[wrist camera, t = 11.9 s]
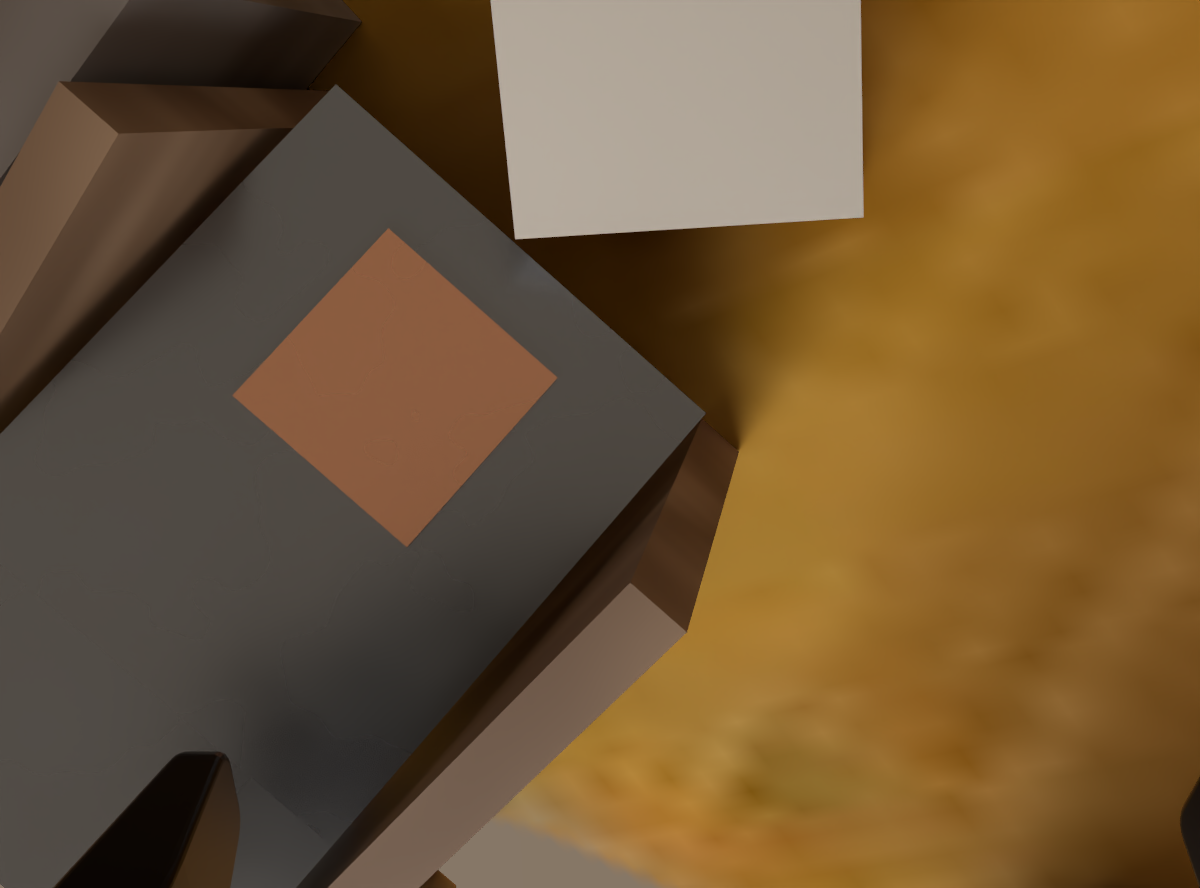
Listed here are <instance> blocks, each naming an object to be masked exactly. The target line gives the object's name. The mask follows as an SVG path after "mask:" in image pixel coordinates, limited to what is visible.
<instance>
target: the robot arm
mask: <svg viewBox="0 0 1200 888" xmlns="http://www.w3.org/2000/svg"><path fill="white" fill-rule="evenodd" d="M1180 826H1181V833H1182V837H1183V840H1184V843H1185V846H1186V849H1187V852H1188V855H1189V858H1190V861H1191V864H1192V867H1193V870H1194V873H1195V876H1196V879H1197V882H1198V885H1199V888H1200V777H1199V779H1198V781H1197V782H1196V784H1195V786H1194V788H1193V789H1192V791H1191V793H1190V795H1189V797H1188V798H1187V800H1186V802H1185V804H1184V806H1183V808H1182V811H1181V816H1180ZM239 833H240V808H239V803H238V798H237V794H236V789H235V784H234V779H233V774H232V769H231V764H230V761H229V758H228V757H227V755H226V754H225V753H223V752H219V751H186V752H181V753H179V754H177V755H175V756H174V757H173V758H172V759H171V760H170V761H169V762H168V763H167V764H166V765H165V766H164V767H163V768H162V769H161V771H160V772H159V773H158V774H157V775H156V776H155V777H154V778H153V779H152V780H151V781H150V782H149V784H148V785H147V786H146V787H145V788H144V789H143V790H142V791H141V792H140V793H139V794H138V796H137V797H136V798H135V799H134V800H133V801H132V802H131V803H130V804H129V805H128V806H127V808H126V809H125V810H124V811H123V812H122V813H121V814H120V815H119V816H118V817H117V818H116V819H115V821H114V822H113V823H112V824H111V825H110V826H109V827H108V828H107V829H106V830H105V831H104V833H103V834H102V835H101V836H100V837H99V838H98V839H97V840H96V841H95V842H94V843H93V845H92V846H91V847H90V848H89V849H88V850H87V851H86V852H85V853H84V854H83V855H82V856H81V858H80V859H79V860H78V861H77V862H76V863H75V864H74V865H73V866H72V867H71V868H70V870H69V871H68V872H67V873H66V874H65V875H64V876H63V877H62V878H61V879H60V880H59V882H58V883H57V884H56V885H55V886H54V887H53V888H230V886H231V881H232V875H233V869H234V863H235V858H236V852H237V846H238V840H239Z"/></svg>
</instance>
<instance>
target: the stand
mask: <svg viewBox="0 0 1200 888" xmlns="http://www.w3.org/2000/svg"><path fill="white" fill-rule="evenodd" d="M361 22H362V21H361V20H360V19H359V18H358V17H357V16H356V15H355V14H354V13H353V12H352V10H351V9H350V8H349V7H348V6H347V5H346V4H345V3H344V2H343V1H342V0H0V186H1V185H2V183H3V181H4V179H5V177H6V175H7V174H8V172H9V170H10V168H11V166H12V165H13V163H14V161H15V159H16V157H17V156H18V154H19V152H20V150H21V148H22V147H23V145H24V143H25V141H26V139H27V138H28V136H29V134H30V132H31V130H32V129H33V127H34V125H35V123H36V121H37V120H38V118H39V116H40V114H41V112H42V111H43V109H44V107H45V105H46V103H47V102H48V100H49V98H50V96H51V94H52V93H53V91H54V89H55V87H56V85H57V83H58V82H59V81H67V82H95V83H123V84H152V85H180V86H208V87H236V88H265V89H293V90H306V89H307V88H308V86H309V85H310V84H311V83H312V82H313V80H314V79H315V78H316V77H317V75H318V74H319V73H320V72H321V71H322V69H323V68H324V67H325V66H326V65H327V63H328V62H329V61H330V60H331V59H332V57H333V56H334V55H335V54H336V53H337V51H338V50H339V49H340V48H341V47H342V45H343V44H344V43H345V42H346V41H347V39H348V38H349V37H350V36H351V34H352V33H353V32H354V31H355V30H356V28H357V27H358V26H359V25H360V24H361Z"/></svg>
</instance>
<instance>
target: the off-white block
mask: <svg viewBox="0 0 1200 888" xmlns="http://www.w3.org/2000/svg"><path fill="white" fill-rule="evenodd" d="M491 10H492V20H493V29H494V39H495V49H496V58H497V68H498V78H499V88H500V97H501V107H502V117H503V126H504V136H505V146H506V155H507V165H508V175H509V185H510V194H511V204H512V214H513V223H514V233H515V239H528V238H544V237H560V236H576V235H591V234H607V233H623V232H639V231H655V230H671V229H687V228H703V227H718V226H734V225H750V224H766V223H782V222H798V221H814V220H830V219H845V218H861V217H863V138H862V60H861V0H491Z"/></svg>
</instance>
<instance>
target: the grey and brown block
mask: <svg viewBox="0 0 1200 888" xmlns="http://www.w3.org/2000/svg"><path fill="white" fill-rule="evenodd" d="M705 414H706V413H705V412H704V411H703V410H702V409H701V408H700V407H698V406H697V405H696V404H695V403H694V402H693V401H692V400H691V399H689V398H688V397H687V396H686V395H685V394H684V393H683V392H682V391H680V390H679V389H678V388H677V387H676V386H675V385H674V384H673V383H671V382H670V381H669V380H668V379H667V378H666V377H665V376H664V375H662V374H661V373H660V372H659V371H658V370H657V369H656V368H655V367H653V366H652V365H651V364H650V363H649V362H648V361H647V360H646V359H644V358H643V357H642V356H641V355H640V354H639V353H638V352H637V351H635V350H634V349H633V348H632V347H631V346H630V345H629V344H628V343H626V342H625V341H624V340H623V339H622V338H621V337H620V336H619V335H618V334H616V333H615V332H614V331H613V330H612V329H611V328H610V327H609V326H607V325H606V324H605V323H604V322H603V321H602V320H601V319H600V318H598V317H597V316H596V315H595V314H594V313H593V312H592V311H591V310H589V309H588V308H587V307H586V306H585V305H584V304H583V303H582V302H580V301H579V300H578V299H577V298H576V297H575V296H574V295H573V294H571V293H570V292H569V291H568V290H567V289H566V288H565V287H564V286H562V285H561V284H560V283H559V282H558V281H557V280H556V279H555V278H553V277H552V276H551V275H550V274H549V273H548V272H547V271H546V270H544V269H543V268H542V267H541V266H540V265H539V264H538V263H537V262H535V261H534V260H533V259H532V258H531V257H530V256H529V255H528V254H526V253H525V252H524V251H523V250H522V249H521V248H520V247H519V246H517V245H516V244H515V243H514V242H513V241H512V240H511V239H510V238H508V237H507V236H506V235H505V234H504V233H503V232H502V231H501V230H499V229H498V228H497V227H496V226H495V225H494V224H493V223H492V222H490V221H489V220H488V219H487V218H486V217H485V216H484V215H483V214H481V213H480V212H479V211H478V210H477V209H476V208H475V207H474V206H472V205H471V204H470V203H469V202H468V201H467V200H466V199H465V198H463V197H462V196H461V195H460V194H459V193H458V192H457V191H456V190H454V189H453V188H452V187H451V186H450V185H449V184H448V183H447V182H445V181H444V180H443V179H442V178H441V177H440V176H439V175H438V174H436V173H435V172H434V171H433V170H432V169H431V168H430V167H429V166H427V165H426V164H425V163H424V162H423V161H422V160H421V159H420V158H418V157H417V156H416V155H415V154H414V153H413V152H412V151H411V150H409V149H408V148H407V147H406V146H405V145H404V144H403V143H402V142H400V141H399V140H398V139H397V138H396V137H395V136H394V135H393V134H391V133H390V132H389V131H388V130H387V129H386V128H385V127H384V126H383V125H381V124H380V123H379V122H378V121H377V120H376V119H375V118H374V117H372V116H371V115H370V114H369V113H368V112H367V111H366V110H365V109H363V108H362V107H361V106H360V105H359V104H358V103H357V102H356V101H354V100H353V99H352V98H351V97H350V96H349V95H348V94H347V93H345V92H344V91H343V90H342V89H341V88H340V87H339V86H338V85H335V86H334V87H333V88H332V89H331V90H330V91H329V92H328V93H327V94H326V95H325V96H324V97H323V98H322V99H321V100H320V101H319V102H318V103H317V104H316V105H315V106H314V107H313V109H312V110H311V111H310V112H309V113H308V114H307V115H306V116H305V117H304V118H303V119H302V120H301V121H300V122H299V123H298V124H297V125H296V126H295V127H294V128H293V129H292V130H291V131H290V133H289V134H288V135H287V136H286V137H285V138H284V139H283V140H282V141H281V142H280V143H279V144H278V145H277V146H276V147H275V148H274V149H273V150H272V151H271V152H270V153H269V154H268V155H267V156H266V158H265V159H264V160H263V161H262V162H261V163H260V164H259V165H258V166H257V167H256V168H255V169H254V170H253V171H252V172H251V173H250V174H249V175H248V176H247V177H246V178H245V179H244V180H243V182H242V183H241V184H240V185H239V186H238V187H237V188H236V189H235V190H234V191H233V192H232V193H231V194H230V195H229V196H228V197H227V198H226V199H225V200H224V201H223V202H222V203H221V204H220V205H219V207H218V208H217V209H216V210H215V211H214V212H213V213H212V214H211V215H210V216H209V217H208V218H207V219H206V220H205V221H204V222H203V223H202V224H201V225H200V226H199V227H198V228H197V229H196V231H195V232H194V233H193V234H192V235H191V236H190V237H189V238H188V239H187V240H186V241H185V242H184V243H183V244H182V245H181V246H180V247H179V248H178V249H177V250H176V251H175V252H174V253H173V254H172V256H171V257H170V258H169V259H168V260H167V261H166V262H165V263H164V264H163V265H162V266H161V267H160V268H159V269H158V270H157V271H156V272H155V273H154V274H153V275H152V276H151V277H150V278H149V279H148V281H147V282H146V283H145V284H144V285H143V286H142V287H141V288H140V289H139V290H138V291H137V292H136V293H135V294H134V295H133V296H132V297H131V298H130V299H129V300H128V301H127V302H126V303H125V305H124V306H123V307H122V308H121V309H120V310H119V311H118V312H117V313H116V314H115V315H114V316H113V317H112V318H111V319H110V320H109V321H108V322H107V323H106V324H105V325H104V326H103V327H102V328H101V330H100V331H99V332H98V333H97V334H96V335H95V336H94V337H93V338H92V339H91V340H90V341H89V342H88V343H87V344H86V345H85V346H84V347H83V348H82V349H81V350H80V351H79V352H78V354H77V355H76V356H75V357H74V358H73V359H72V360H71V361H70V362H69V363H68V364H67V365H66V366H65V367H64V368H63V369H62V370H61V371H60V372H59V373H58V374H57V375H56V376H55V377H54V379H53V380H52V381H51V382H50V383H49V384H48V385H47V386H46V387H45V388H44V389H43V390H42V391H41V392H40V393H39V394H38V395H37V396H36V397H35V398H34V399H33V400H32V401H31V403H30V404H29V405H28V406H27V407H26V408H25V409H24V410H23V411H22V412H21V413H20V414H19V415H18V416H17V417H16V418H15V419H14V420H13V421H12V422H11V423H10V424H9V425H8V426H7V428H6V429H5V430H4V431H3V432H2V433H1V434H0V884H1V885H2V886H3V887H4V888H53V887H54V886H55V885H56V884H57V883H58V882H59V880H60V879H61V878H62V877H63V876H64V875H65V874H66V873H67V872H68V871H69V870H70V868H71V867H72V866H73V865H74V864H75V863H76V862H77V861H78V860H79V859H80V858H81V856H82V855H83V854H84V853H85V852H86V851H87V850H88V849H89V848H90V847H91V846H92V845H93V843H94V842H95V841H96V840H97V839H98V838H99V837H100V836H101V835H102V834H103V833H104V831H105V830H106V829H107V828H108V827H109V826H110V825H111V824H112V823H113V822H114V821H115V819H116V818H117V817H118V816H119V815H120V814H121V813H122V812H123V811H124V810H125V809H126V808H127V806H128V805H129V804H130V803H131V802H132V801H133V800H134V799H135V798H136V797H137V796H138V794H139V793H140V792H141V791H142V790H143V789H144V788H145V787H146V786H147V785H148V784H149V782H150V781H151V780H152V779H153V778H154V777H155V776H156V775H157V774H158V773H159V772H160V771H161V769H162V768H163V767H164V766H165V765H166V764H167V763H168V762H169V761H170V760H171V759H172V758H173V757H174V756H175V755H177V754H179V753H181V752H186V751H219V752H223V753H225V754H226V755H227V757H228V758H229V761H230V764H231V769H232V774H233V779H234V784H235V789H236V794H237V798H238V803H239V808H240V833H239V840H238V846H237V852H236V858H235V863H234V869H233V875H232V881H231V886H230V888H296V887H297V886H298V885H299V884H300V883H301V881H302V880H303V879H304V878H305V877H306V876H307V874H308V873H309V872H310V871H311V870H312V869H313V868H314V866H315V865H316V864H317V863H318V862H319V861H320V859H321V858H322V857H323V856H324V855H325V854H326V852H327V851H328V850H329V849H330V848H331V847H332V846H333V844H334V843H335V842H336V841H337V840H338V839H339V837H340V836H341V835H342V834H343V833H344V832H345V830H346V829H347V828H348V827H349V826H350V825H351V824H352V822H353V821H354V820H355V819H356V818H357V817H358V815H359V814H360V813H361V812H362V811H363V810H364V808H365V807H366V806H367V805H368V804H369V803H370V802H371V800H372V799H373V798H374V797H375V796H376V795H377V793H378V792H379V791H380V790H381V789H382V788H383V787H384V785H385V784H386V783H387V782H388V781H389V780H390V778H391V777H392V776H393V775H394V774H395V773H396V771H397V770H398V769H399V768H400V767H401V766H402V765H403V763H404V762H405V761H406V760H407V759H408V758H409V756H410V755H411V754H412V753H413V752H414V751H415V749H416V748H417V747H418V746H419V745H420V744H421V743H422V741H423V740H424V739H425V738H426V737H427V736H428V734H429V733H430V732H431V731H432V730H433V729H434V727H435V726H436V725H437V724H438V723H439V722H440V721H441V719H442V718H443V717H444V716H445V715H446V714H447V712H448V711H449V710H450V709H451V708H452V707H453V705H454V704H455V703H456V702H457V701H458V700H459V699H460V697H461V696H462V695H463V694H464V693H465V692H466V690H467V689H468V688H469V687H470V686H471V685H472V683H473V682H474V681H475V680H476V679H477V678H478V677H479V675H480V674H481V673H482V672H483V671H484V670H485V668H486V667H487V666H488V665H489V664H490V663H491V662H492V660H493V659H494V658H495V657H496V656H497V655H498V653H499V652H500V651H501V650H502V649H503V648H504V646H505V645H506V644H507V643H508V642H509V641H510V640H511V638H512V637H513V636H514V635H515V634H516V633H517V631H518V630H519V629H520V628H521V627H522V626H523V624H524V623H525V622H526V621H527V620H528V619H529V618H530V616H531V615H532V614H533V613H534V612H535V611H536V609H537V608H538V607H539V606H540V605H541V604H542V602H543V601H544V600H545V599H546V598H547V597H548V596H549V594H550V593H551V592H552V591H553V590H554V589H555V587H556V586H557V585H558V584H559V583H560V582H561V580H562V579H563V578H564V577H565V576H566V575H567V574H568V572H569V571H570V570H571V569H572V568H573V567H574V565H575V564H576V563H577V562H578V561H579V560H580V558H581V557H582V556H583V555H584V554H585V553H586V552H587V550H588V549H589V548H590V547H591V546H592V545H593V543H594V542H595V541H596V540H597V539H598V538H599V537H600V535H601V534H602V533H603V532H604V531H605V530H606V528H607V527H608V526H609V525H610V524H611V523H612V521H613V520H614V519H615V518H616V517H617V516H618V515H619V513H620V512H621V511H622V510H623V509H624V508H625V506H626V505H627V504H628V503H629V502H630V501H631V499H632V498H633V497H634V496H635V495H636V494H637V493H638V491H639V490H640V489H641V488H642V487H643V486H644V484H645V483H646V482H647V481H648V480H649V479H650V477H651V476H652V475H653V474H654V473H655V472H656V471H657V469H658V468H659V467H660V466H661V465H662V464H663V462H664V461H665V460H666V459H667V458H668V457H669V455H670V454H671V453H672V452H673V451H674V450H675V449H676V447H677V446H678V445H679V444H680V443H681V442H682V440H683V439H684V438H685V437H686V436H687V435H688V433H689V432H690V431H691V430H692V429H693V428H694V427H695V425H696V424H697V423H698V422H699V421H700V420H701V418H702V417H703V416H704V415H705Z"/></svg>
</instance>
